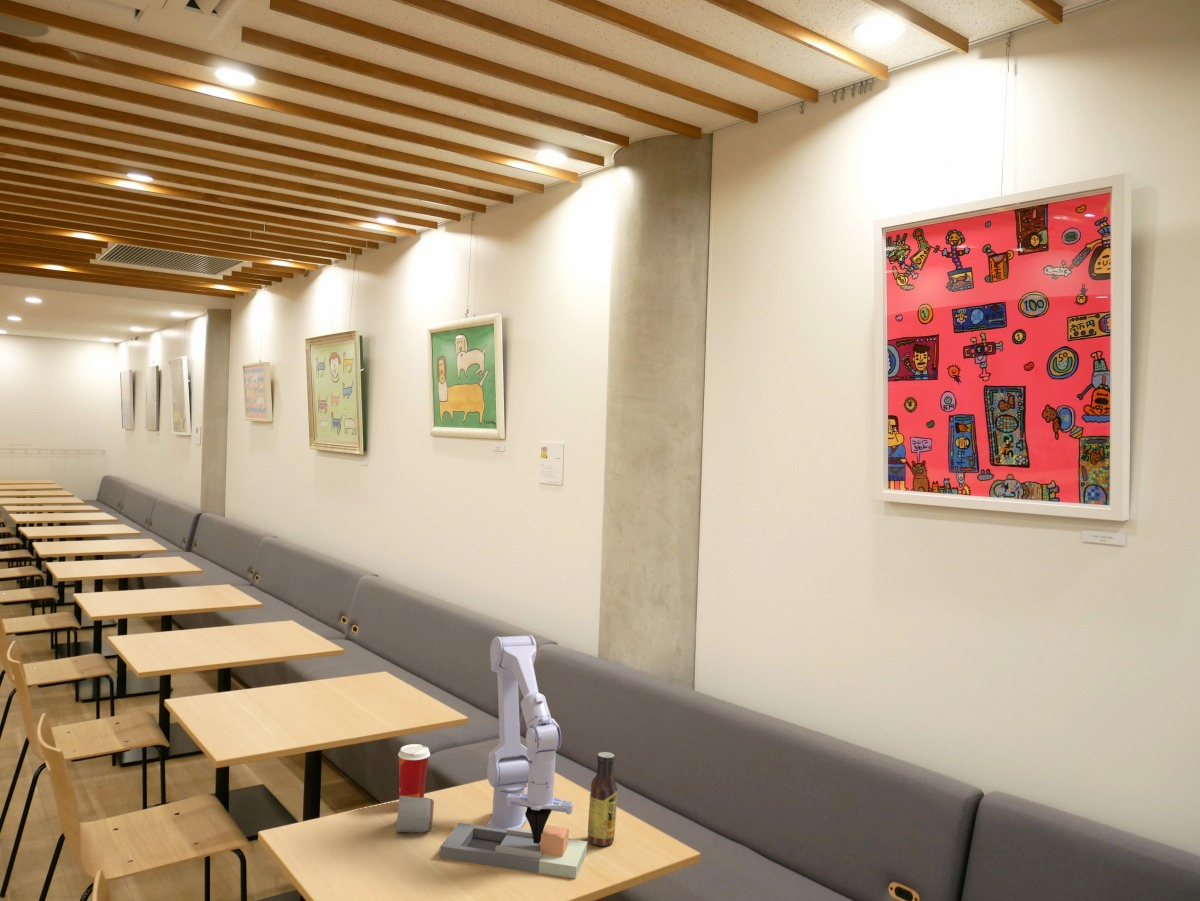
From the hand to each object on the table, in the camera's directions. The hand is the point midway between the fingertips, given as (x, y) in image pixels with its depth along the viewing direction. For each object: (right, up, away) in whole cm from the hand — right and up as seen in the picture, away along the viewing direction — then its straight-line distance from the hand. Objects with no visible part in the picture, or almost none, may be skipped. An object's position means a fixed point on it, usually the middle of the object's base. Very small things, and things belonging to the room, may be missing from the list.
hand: (537, 841), depth 190 cm
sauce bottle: (+14, -5, +10) cm, 18 cm away
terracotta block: (+4, -1, -1) cm, 4 cm away
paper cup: (-33, -2, +23) cm, 40 cm away
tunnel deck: (-5, -3, +1) cm, 6 cm away
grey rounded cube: (-30, -2, +11) cm, 32 cm away
